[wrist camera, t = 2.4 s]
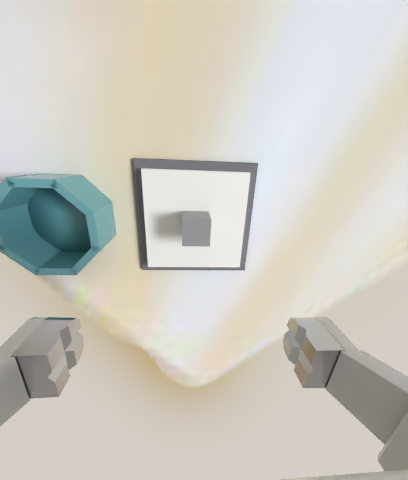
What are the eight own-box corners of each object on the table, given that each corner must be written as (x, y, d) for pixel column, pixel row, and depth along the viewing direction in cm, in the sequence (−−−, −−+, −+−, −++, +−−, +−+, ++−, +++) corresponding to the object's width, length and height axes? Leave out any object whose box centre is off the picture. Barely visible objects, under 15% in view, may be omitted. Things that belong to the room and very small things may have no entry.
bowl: (108, 175, 23) (88, 180, 19) (119, 255, 27) (104, 275, 22) (15, 172, 23) (-30, 176, 18) (38, 254, 26) (6, 275, 22)
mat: (256, 163, 24) (257, 163, 23) (243, 268, 29) (244, 270, 29) (133, 158, 23) (133, 158, 22) (143, 268, 28) (142, 269, 28)
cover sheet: (248, 172, 24) (260, 175, 20) (238, 263, 28) (246, 282, 24) (142, 168, 23) (132, 170, 19) (149, 263, 27) (142, 282, 23)
